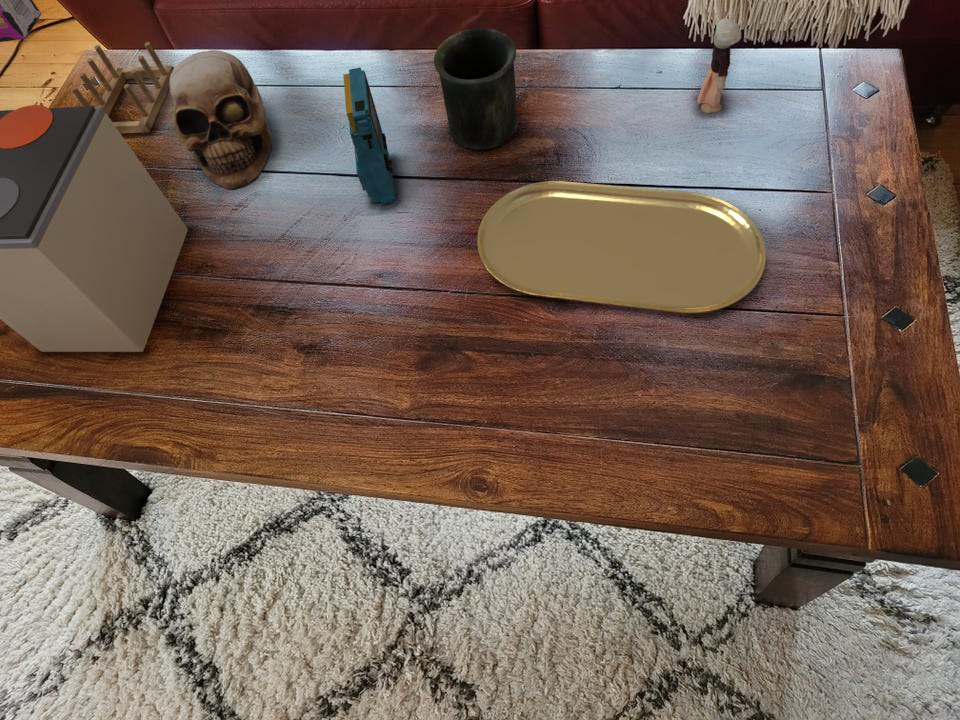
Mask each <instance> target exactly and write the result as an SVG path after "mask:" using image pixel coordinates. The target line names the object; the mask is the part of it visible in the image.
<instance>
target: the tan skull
mask: <svg viewBox="0 0 960 720" xmlns="http://www.w3.org/2000/svg"><path fill="white" fill-rule="evenodd" d="M173 68H174V69H173V71H172V73H171V76H170V82H169V87H170V88H169V93H170V97H171V100H172V102H173V104H174V105H173V106H174V107H173V109H172V127H173V132H174V136H175V137H176V139H177V141H178V142H179V144H180V145H181V147H182V148H183V149H184V150H185V151H187V152H189V153H193V155H194V157H195V159H196V162H197V164H198V166H199V167H200V169H201V170H202V172H203V174H205V175H206V177H207V179H209V180H210V182H212V183H214V184H215V185H218V186H219V187H220V186H221V187H223V188H224V189H228V190H233V189H236V188H240V187H243V186H246V185H248V184H250V183H251V182H252V181H253V180H254V179H256V178H257V177H258V176H259V175H260V174H261V172H263V171H262V170H263V169H264V167H265V165H266V162H267V160H268V157H269V156H270V153H271V151H270V150H271V148H272V147H273V146H272V145H273V141H272V139H273V138H272V135H271V132H270V129H269V127H268V124H267V121H266V109H265V107H264V101H263V98H262V96H261V92H260V91H259V88H258V86H257V85H256V84H255V81H254V79H253V77H252V75H251V74H250V72H249V71H248V69H247V67H246V66H245V65H244V64H243V62H242V60H241V59H239V58H238V57H237V56H235V55H233V54H231V53H228V52H226V51H223V50H218V49H211V50H206V51H199V52H196V53H192V54H191V55H188V56H186V57H185V58H184V59H182V60H181V61H180V62H178V63H177V64H176V65H175V67H173Z"/></svg>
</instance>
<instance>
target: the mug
mask: <svg viewBox="0 0 960 720" xmlns="http://www.w3.org/2000/svg"><path fill="white" fill-rule="evenodd" d="M516 57H517V48H516V45H515V43H514V41H513V40H512V38H511V37H510V36H508V35H507V34H506V33H504V32H502V31H499V30H497V29H493V28H486V27H484V28H483V27H478V28H477V27H476V28H468V29H465V30H461V31H459V32H457V33H454V34H453V35H450V36H448V37H447V38H446V39H444V40H443V42H441V43H440V44H439V46H438V47H437V49H436V50H435V53H434V56H433V66H434V68H435V71H436V72H437V73H438V75H439V80H440V85H441V91H442V97H443V101H444V107H445V113H446V117H447V118H446V119H447V123H448V129H449V132H450V133H449V134H450V135H451V138H452V139H454V141H456V143H458V144H459V145H461V146H463V147H464V148H468V149H470V150H476V151H485V150H491V149H494V148H497V147H499V146H501V145H504V143H506V142H508V141H509V140H510V139H511V138H512V136H513V135H514V133H515V132H516V130H517V129H518V124H519V113H518V100H517V99H518V98H517V86H516V85H517V84H516V74H515V61H516Z"/></svg>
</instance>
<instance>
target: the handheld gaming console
mask: <svg viewBox="0 0 960 720" xmlns="http://www.w3.org/2000/svg"><path fill="white" fill-rule="evenodd" d="M342 76H343V88H344V101H345V113H346V117H347V120H348V124H349V135H350V138H351V141H352V143H353V147H354V158H355V169H356V174H357V177H358V180H359V182H360V186H361V188H362V190H363V191H366V194H367V197H368V199H369V198H371V200H372V203H373V204H376V203H381V205H382V206H386V205H387V206H388V205H392V204H394V200H395V199H396V192H395V186H394V178H393V174H394V172H393V167H392V159H391V157H390V152H389V149H388V143H387V137H386V134H385V133H384V132H383V129H382V124H381V121H380V118H379V115H378V112H377V107H376V104H375V101H374V98H373V94H372V90H371V88H370V83H369V81H368V77H367V74H366V71H365V70H362V68H361V66H360V67H355V68H349V69H348V73H343V75H342Z"/></svg>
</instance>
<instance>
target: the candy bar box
mask: <svg viewBox="0 0 960 720" xmlns="http://www.w3.org/2000/svg"><path fill="white" fill-rule="evenodd" d="M41 15H42V12H41V11H40V9H39V7H38V6H37V5H36V4H35V2H34V0H0V43H3V42H12V41H20V40H21V41H22V40H26V39H27V38H28V37H29V35H30V34H31V32H32V30H33V29H34V27H35V26H36V24H37V23H38V21H39V19H40V17H41Z"/></svg>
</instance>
